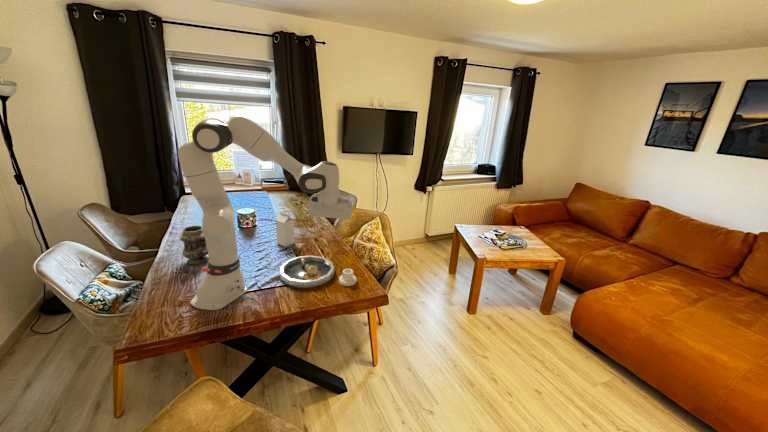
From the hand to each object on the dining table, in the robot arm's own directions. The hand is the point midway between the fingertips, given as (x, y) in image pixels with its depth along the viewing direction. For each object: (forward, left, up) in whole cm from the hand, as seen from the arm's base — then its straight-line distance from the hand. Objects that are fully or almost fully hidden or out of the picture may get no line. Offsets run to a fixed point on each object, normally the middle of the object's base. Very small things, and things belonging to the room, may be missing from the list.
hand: (330, 225), depth 142 cm
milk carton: (+26, +37, -27) cm, 53 cm away
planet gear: (-3, -10, -27) cm, 29 cm away
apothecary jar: (-7, +68, -27) cm, 73 cm away
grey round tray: (-2, +11, -27) cm, 29 cm away
